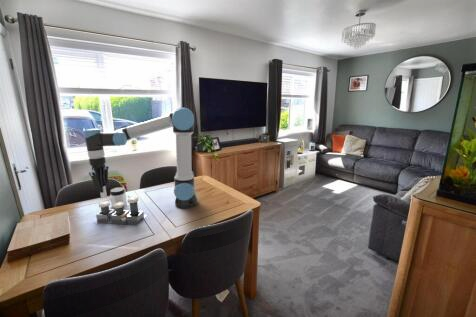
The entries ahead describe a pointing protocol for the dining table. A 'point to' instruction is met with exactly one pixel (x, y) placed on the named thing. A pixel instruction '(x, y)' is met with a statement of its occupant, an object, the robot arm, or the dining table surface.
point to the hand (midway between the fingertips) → (104, 196)
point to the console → (119, 218)
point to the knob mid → (119, 208)
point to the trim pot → (123, 218)
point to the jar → (118, 196)
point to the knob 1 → (104, 207)
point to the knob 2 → (133, 205)
